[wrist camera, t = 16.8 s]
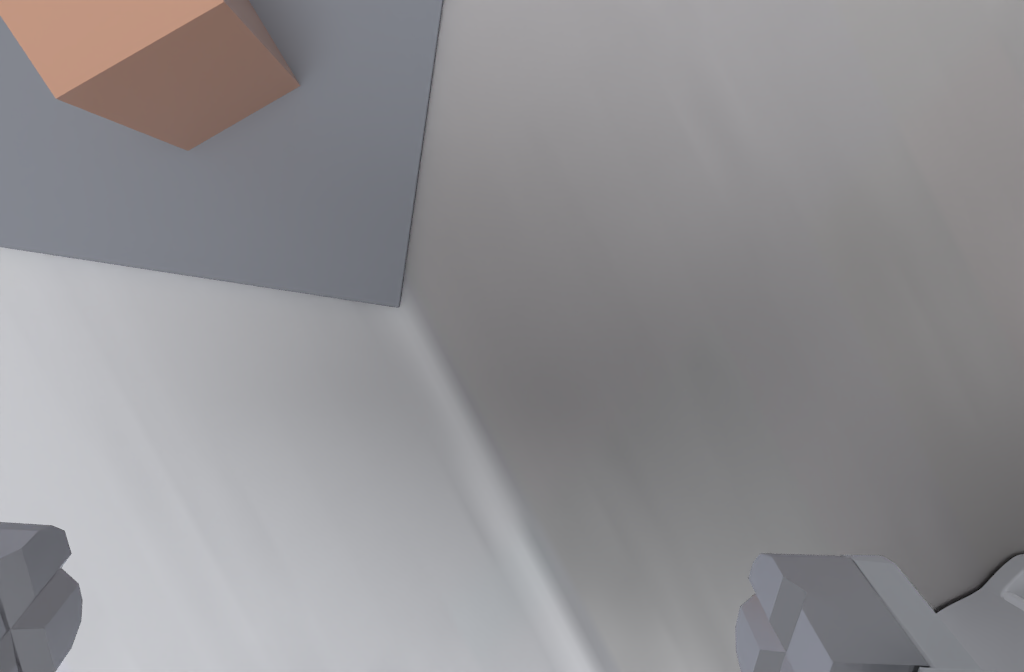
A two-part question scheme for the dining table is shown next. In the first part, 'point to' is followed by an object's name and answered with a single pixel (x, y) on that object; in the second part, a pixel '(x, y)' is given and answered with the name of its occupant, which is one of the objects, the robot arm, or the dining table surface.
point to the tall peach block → (154, 61)
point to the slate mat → (241, 163)
